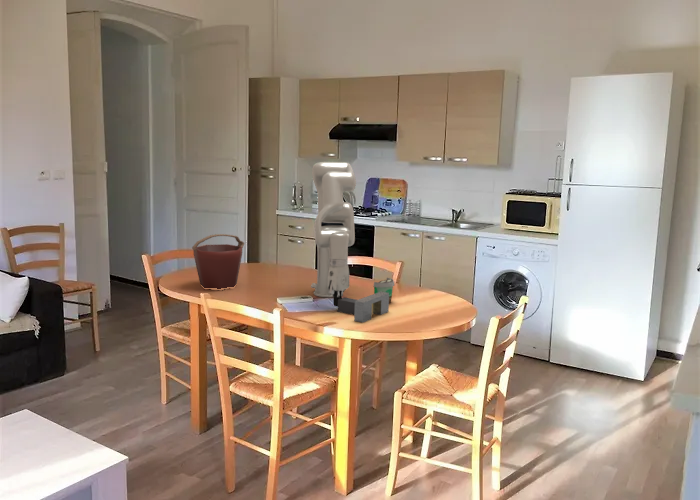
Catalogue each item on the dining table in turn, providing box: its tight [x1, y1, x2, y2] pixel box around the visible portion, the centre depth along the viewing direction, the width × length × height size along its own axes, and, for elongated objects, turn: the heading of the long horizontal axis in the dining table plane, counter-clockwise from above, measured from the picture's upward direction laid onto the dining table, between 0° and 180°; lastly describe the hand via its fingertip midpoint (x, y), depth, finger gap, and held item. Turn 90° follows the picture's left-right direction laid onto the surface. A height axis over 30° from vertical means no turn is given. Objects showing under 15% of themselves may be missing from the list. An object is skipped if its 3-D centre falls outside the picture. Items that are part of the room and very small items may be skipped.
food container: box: [372, 277, 395, 305], centre depth 269 cm, size 12×6×10 cm, turn 148°
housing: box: [354, 292, 390, 323], centre depth 247 cm, size 4×20×8 cm, turn 147°
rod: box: [337, 296, 374, 316], centre depth 252 cm, size 14×5×5 cm, turn 57°
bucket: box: [191, 233, 245, 289], centre depth 291 cm, size 24×22×25 cm
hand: (337, 305), depth 256 cm, fingers closed
